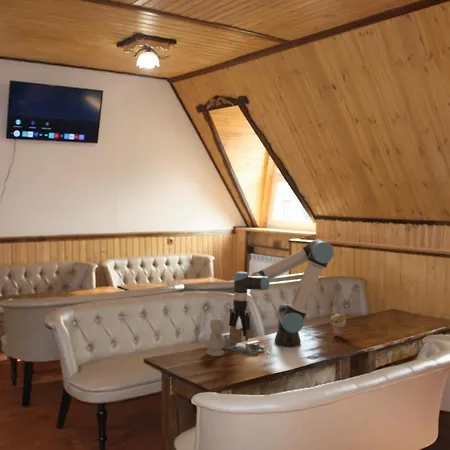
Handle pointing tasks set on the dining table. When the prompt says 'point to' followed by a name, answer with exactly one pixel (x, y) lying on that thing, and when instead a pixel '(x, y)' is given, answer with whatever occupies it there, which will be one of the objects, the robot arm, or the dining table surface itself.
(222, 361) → the dining table surface
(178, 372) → the dining table surface
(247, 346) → the slide jaw
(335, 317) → the toy
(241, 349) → the vise
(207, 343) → the figurine
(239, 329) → the block
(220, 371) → the dining table surface
